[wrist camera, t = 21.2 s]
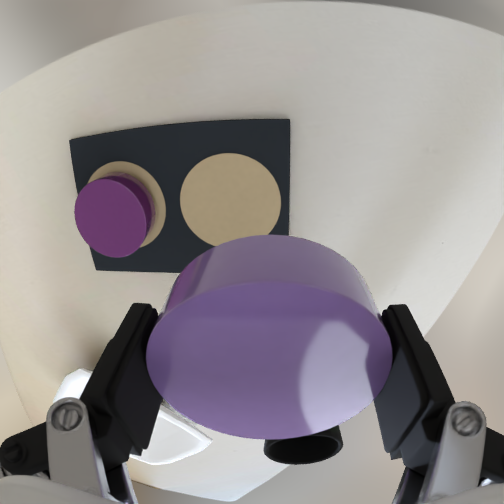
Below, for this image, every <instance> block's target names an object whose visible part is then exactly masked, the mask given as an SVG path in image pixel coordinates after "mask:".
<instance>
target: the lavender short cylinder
mask: <svg viewBox="0 0 504 504" xmlns="http://www.w3.org/2000/svg"><path fill="white" fill-rule="evenodd" d="M392 361H393V351H392V345H391V341H390V337H389V335H388V332H387V330H386V327H385V325H384V322H383V320H382V318H381V315H380V313H379V310H378V308H377V306H376V303H375V301H374V299H373V296H372V294H371V292H370V290H369V287H368V286H367V284H366V282H365V280H364V278H363V277H362V275H361V274H360V273H359V272H358V270H357V269H356V268H355V267H354V266H353V265H352V264H351V263H350V262H349V261H348V260H346V259H345V258H344V257H343V256H341V255H340V254H338V253H336V252H335V251H333V250H332V249H329V248H327V247H325V246H323V245H321V244H319V243H316V242H313V241H310V240H306V239H303V238H298V237H292V236H286V235H255V236H249V237H243V238H238V239H235V240H231V241H228V242H225V243H222V244H220V245H218V246H216V247H213V248H211V249H209V250H207V251H206V252H204V253H203V254H201V255H200V256H198V257H197V258H195V259H194V260H193V261H192V262H191V263H190V264H188V265H187V266H186V267H185V268H184V270H183V271H182V272H181V273H180V274H179V276H178V277H177V279H176V280H175V282H174V284H173V286H172V288H171V290H170V292H169V294H168V296H167V298H166V301H165V303H164V305H163V307H162V309H161V312H160V314H159V316H158V318H157V321H156V323H155V325H154V327H153V330H152V332H151V334H150V337H149V340H148V343H147V348H146V364H147V370H148V373H149V376H150V378H151V381H152V383H153V385H154V387H155V388H156V389H157V391H158V392H159V394H160V395H161V396H162V397H163V398H164V399H165V401H166V402H167V403H168V404H169V405H171V406H172V407H173V408H174V409H175V410H176V411H178V412H179V413H181V414H182V415H184V416H185V417H187V418H188V419H190V420H192V421H194V422H196V423H198V424H200V425H202V426H204V427H206V428H209V429H212V430H215V431H218V432H221V433H225V434H228V435H233V436H238V437H243V438H252V439H287V438H295V437H301V436H306V435H311V434H315V433H318V432H321V431H324V430H327V429H330V428H332V427H335V426H337V425H339V424H341V423H343V422H345V421H347V420H349V419H351V418H352V417H353V416H355V415H357V414H358V413H359V412H361V411H362V410H363V409H365V408H366V407H367V406H368V405H369V404H370V403H371V402H372V401H373V400H374V399H375V398H376V397H377V396H378V394H379V393H380V392H381V390H382V389H383V387H384V385H385V383H386V380H387V378H388V376H389V373H390V371H391V368H392Z"/></svg>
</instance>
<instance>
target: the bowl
mask: <svg viewBox="0 0 504 504" xmlns="http://www.w3.org/2000/svg"><path fill="white" fill-rule="evenodd" d="M92 372H93V371H90V370H87V369H83V368H79V369H77V370H75V371H73V372H72V373H70V374H68V375H66V376H65V378H64V380H63V382H62V384H61V385H60V387H59V389H58V391H57V393H56V396H55V398H54V400H53V403H55V402H56V401H58V400H59V399H62V398H65V397H74V398H78V399H79V398H80V396H81V394H82V392H83V390H84V388H85V386H86V384H87V382H88V380H89V378H90V376H91V374H92ZM211 442H212V439H211V438H210V437H209V436H207V435H206V434H204V433H203V432H201V431H200V430H199V429H197V428H196V427H195V426H193V425H192V424H191V423H189V422H188V421H186V420H185V419H183V418H182V417H180V416H179V415H177V414H176V413H174V412H173V411H171V410H169V409H167V408H166V407H164V406H163V405H160V409H159V412H158V415H157V419H156V422H155V426H154V429H153V433H152V436H151V439H150V443H149V446H148V448H147V449H146V450H144V449H143V451H142V455H141V456H137V455H132V454H130V457H132V458H135V459H137V460H140V461H143V462H146V463H148V464H152V465H158V464H169V463H172V462H174V461H177V460H180V459H183V458H186V457H188V456H191V455H193V454H196V453H198V452H200V451H203V450H204V449H205V448H206V447H207V446H208V445H209V444H210V443H211Z"/></svg>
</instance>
